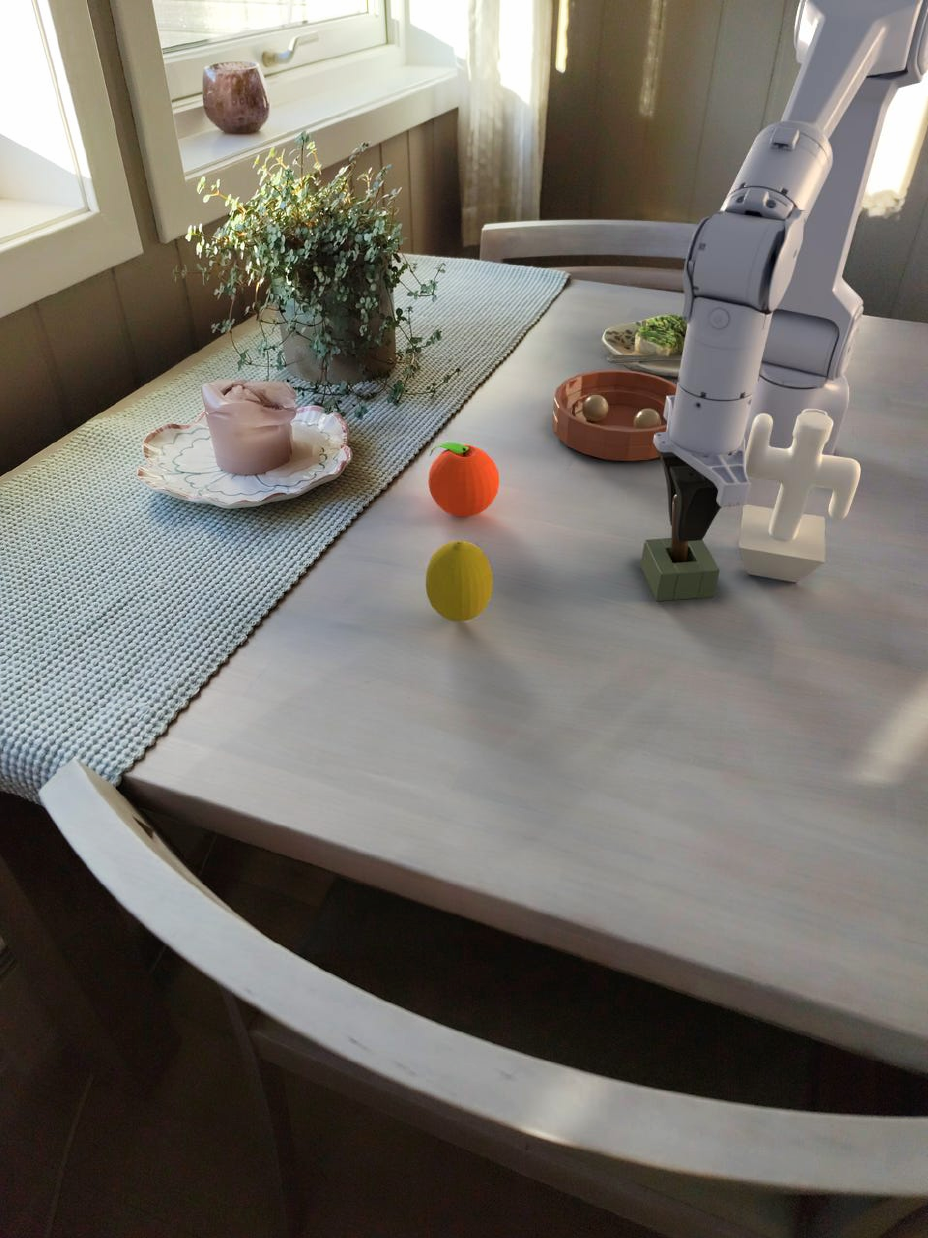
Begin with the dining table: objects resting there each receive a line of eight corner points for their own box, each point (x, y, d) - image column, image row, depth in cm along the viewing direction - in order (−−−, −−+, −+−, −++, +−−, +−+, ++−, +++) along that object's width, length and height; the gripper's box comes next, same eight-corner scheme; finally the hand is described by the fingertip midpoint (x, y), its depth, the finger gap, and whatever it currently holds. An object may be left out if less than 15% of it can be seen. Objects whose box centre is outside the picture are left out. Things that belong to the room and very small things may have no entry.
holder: (694, 562, 80) (700, 535, 78) (713, 597, 76) (720, 570, 74) (639, 566, 80) (644, 539, 78) (656, 601, 76) (661, 574, 74)
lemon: (425, 600, 76) (422, 524, 71) (488, 597, 76) (490, 521, 71) (428, 642, 72) (426, 565, 66) (495, 639, 72) (497, 561, 67)
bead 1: (603, 413, 101) (606, 389, 100) (609, 425, 99) (612, 401, 97) (578, 414, 101) (580, 390, 99) (584, 426, 99) (586, 402, 97)
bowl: (663, 397, 106) (668, 366, 103) (704, 460, 94) (711, 427, 92) (541, 404, 104) (543, 372, 102) (567, 468, 93) (570, 435, 90)
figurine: (826, 597, 76) (880, 446, 66) (717, 578, 78) (753, 428, 69) (826, 551, 81) (875, 404, 72) (723, 534, 84) (758, 389, 74)
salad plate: (642, 398, 105) (647, 362, 102) (567, 344, 118) (570, 310, 115) (767, 369, 112) (776, 335, 109) (684, 321, 124) (689, 289, 121)
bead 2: (654, 427, 99) (658, 403, 97) (662, 440, 97) (666, 415, 95) (629, 428, 99) (632, 404, 97) (636, 441, 96) (639, 417, 94)
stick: (683, 566, 78) (687, 487, 72) (688, 576, 77) (692, 496, 71) (668, 569, 78) (670, 490, 72) (672, 579, 77) (675, 499, 71)
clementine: (407, 508, 87) (404, 445, 82) (452, 481, 91) (452, 419, 86) (467, 539, 83) (467, 474, 78) (512, 509, 87) (515, 446, 82)
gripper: (638, 347, 71) (619, 489, 80) (695, 433, 60) (665, 587, 69) (722, 343, 71) (693, 485, 80) (793, 427, 60) (751, 580, 69)
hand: (686, 532), depth 74 cm, fingers closed on stick, 1 cm apart
